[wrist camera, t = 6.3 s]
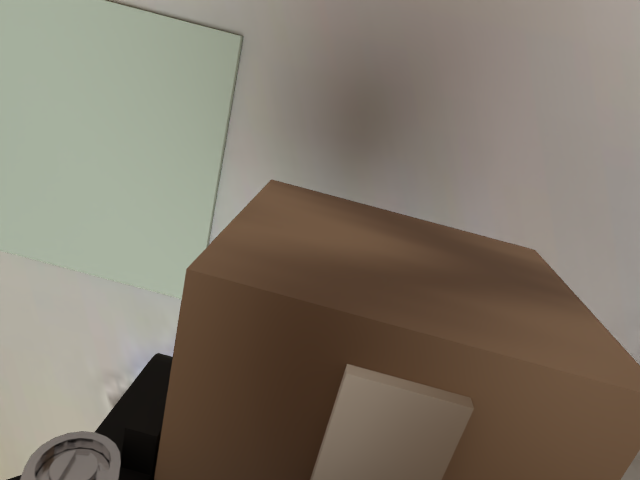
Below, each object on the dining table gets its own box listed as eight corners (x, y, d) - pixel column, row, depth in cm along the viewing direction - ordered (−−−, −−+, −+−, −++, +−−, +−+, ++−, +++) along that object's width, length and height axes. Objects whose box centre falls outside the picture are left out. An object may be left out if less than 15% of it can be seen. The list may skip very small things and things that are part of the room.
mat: (243, 36, 24) (241, 36, 24) (199, 300, 30) (197, 303, 30) (-54, -42, 24) (-61, -43, 24) (-40, 236, 30) (-46, 238, 30)
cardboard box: (534, 249, 10) (682, 412, 5) (409, 530, 13) (430, 791, 9) (271, 179, 10) (180, 274, 5) (209, 474, 14) (116, 700, 9)
